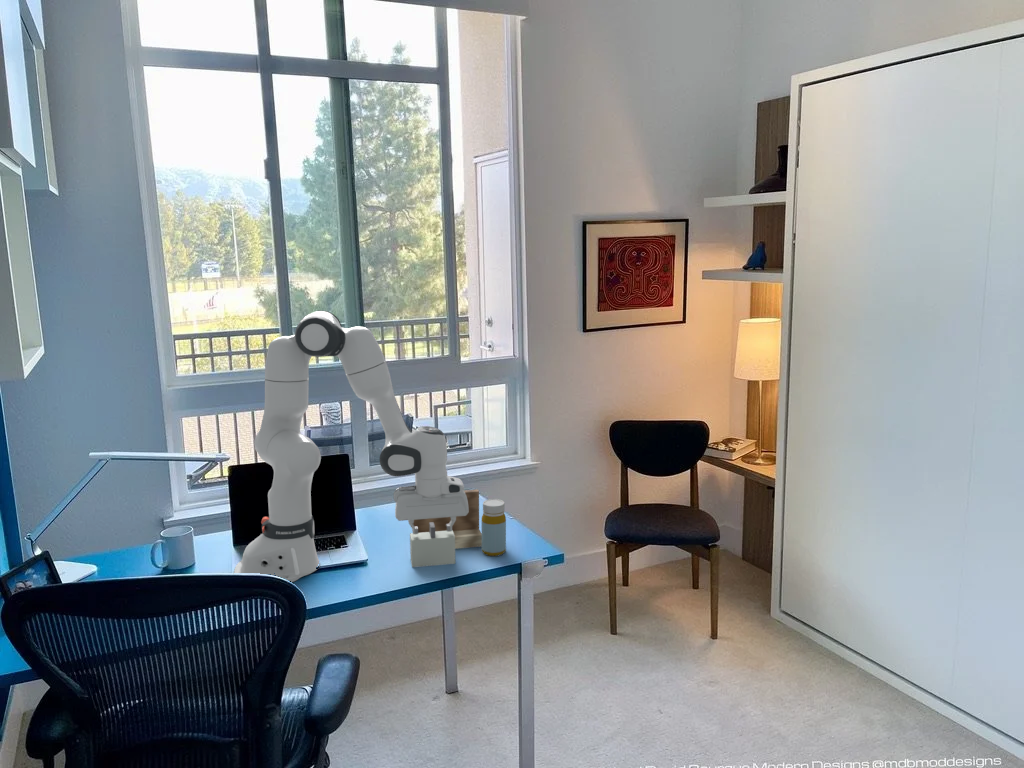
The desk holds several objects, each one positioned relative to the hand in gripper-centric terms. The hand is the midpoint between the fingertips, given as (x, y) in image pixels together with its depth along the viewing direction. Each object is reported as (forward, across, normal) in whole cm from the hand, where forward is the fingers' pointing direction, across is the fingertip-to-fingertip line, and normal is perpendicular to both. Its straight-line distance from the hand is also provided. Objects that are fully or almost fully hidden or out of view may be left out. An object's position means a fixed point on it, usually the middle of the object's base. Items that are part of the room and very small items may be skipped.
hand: (432, 532), depth 211 cm
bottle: (+9, +18, +3) cm, 20 cm away
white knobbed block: (+9, 0, 0) cm, 9 cm away
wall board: (+9, +6, +12) cm, 16 cm away
